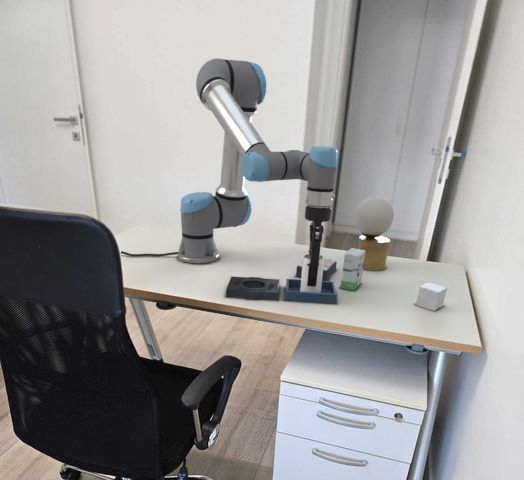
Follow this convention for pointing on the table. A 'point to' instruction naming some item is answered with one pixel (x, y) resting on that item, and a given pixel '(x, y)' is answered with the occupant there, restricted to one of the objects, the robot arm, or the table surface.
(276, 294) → the plate
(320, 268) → the can
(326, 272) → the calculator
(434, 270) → the table surface
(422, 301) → the white cube
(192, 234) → the robot arm
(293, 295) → the blue tray
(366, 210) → the lamp
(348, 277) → the ink box
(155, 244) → the table surface
